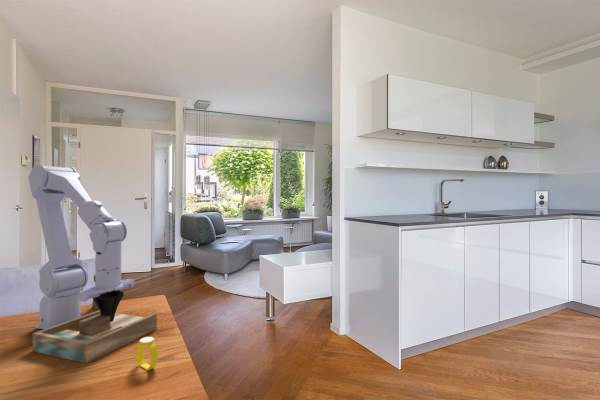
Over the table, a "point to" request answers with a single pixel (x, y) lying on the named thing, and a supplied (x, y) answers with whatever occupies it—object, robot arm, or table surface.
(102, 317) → the walnut block
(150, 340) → the watch
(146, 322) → the board
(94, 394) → the table surface
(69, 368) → the table surface
